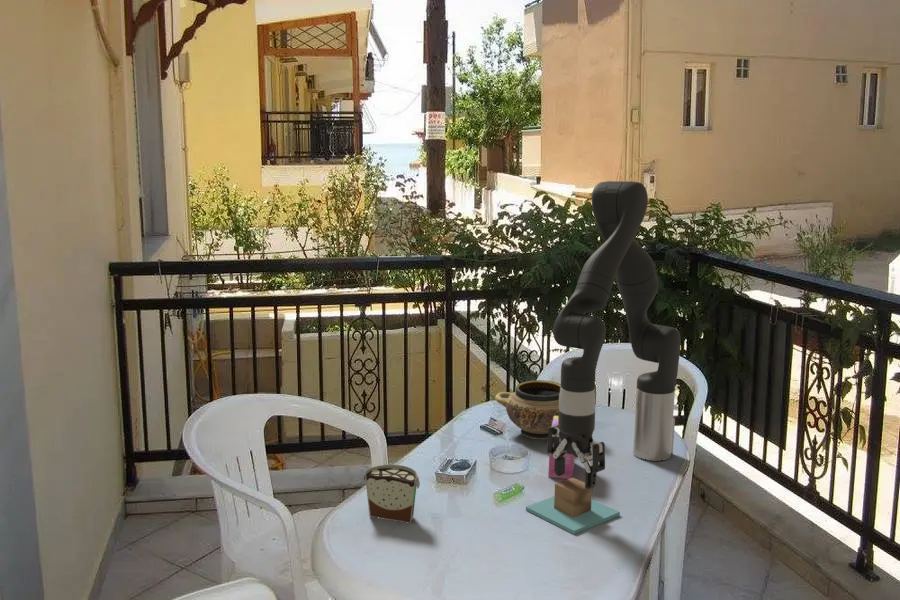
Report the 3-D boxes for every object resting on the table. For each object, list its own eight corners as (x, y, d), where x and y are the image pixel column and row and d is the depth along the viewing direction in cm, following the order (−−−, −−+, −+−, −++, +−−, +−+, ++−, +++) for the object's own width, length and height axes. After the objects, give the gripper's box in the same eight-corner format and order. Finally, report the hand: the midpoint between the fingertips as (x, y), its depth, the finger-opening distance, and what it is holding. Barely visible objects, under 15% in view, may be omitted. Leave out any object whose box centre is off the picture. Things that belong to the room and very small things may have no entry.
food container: (428, 512, 181) (428, 468, 179) (417, 524, 175) (417, 479, 173) (375, 503, 185) (374, 460, 183) (363, 515, 179) (362, 471, 177)
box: (572, 479, 198) (574, 431, 196) (548, 477, 199) (549, 429, 197) (575, 462, 208) (577, 416, 206) (551, 460, 209) (553, 415, 207)
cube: (571, 501, 185) (572, 477, 184) (591, 510, 181) (592, 485, 179) (554, 508, 181) (554, 484, 180) (573, 517, 177) (574, 492, 176)
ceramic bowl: (486, 443, 228) (481, 395, 222) (511, 408, 242) (508, 362, 236) (574, 460, 217) (571, 410, 211) (595, 423, 231) (593, 375, 225)
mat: (571, 493, 191) (571, 489, 191) (619, 515, 180) (619, 511, 180) (525, 510, 182) (525, 506, 182) (573, 534, 171) (574, 530, 171)
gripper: (615, 413, 173) (612, 487, 177) (564, 396, 184) (562, 466, 188) (590, 421, 169) (587, 497, 172) (539, 403, 180) (538, 475, 183)
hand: (574, 481), depth 180 cm, fingers open, 8 cm apart
